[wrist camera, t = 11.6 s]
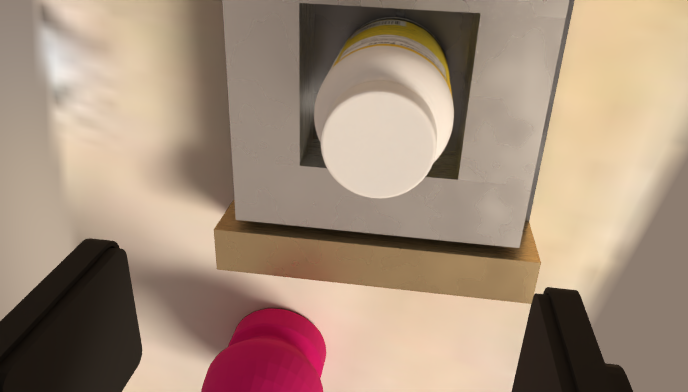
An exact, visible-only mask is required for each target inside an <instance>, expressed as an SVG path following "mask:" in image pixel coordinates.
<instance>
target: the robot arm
mask: <svg viewBox="0 0 688 392" xmlns="http://www.w3.org/2000/svg"><path fill="white" fill-rule="evenodd" d="M141 356H142V344H141V338H140V332H139V326H138V320H137V314H136V308H135V302H134V296H133V290H132V284H131V278H130V272H129V266H128V260H127V255H126V252H125V250H123V249H120V248H119V245H118V244H117V243H116V242H115V241H108V240H99V239H85V240H84V241H83V242H82V243H80V244H79V245H78V246H77V247H76V248H75V249H74V250H73V251H72V252H71V253H70V254H69V255H68V256H67V257H66V258H65V259H64V260H63V261H62V262H61V263H60V264H59V265H58V266H57V267H56V268H55V269H54V270H53V271H52V272H51V273H50V274H49V275H48V276H47V277H46V278H44V279H43V280H42V281H41V283H39V284H38V285H37V286H36V287H35V288H34V289H33V290H32V291H31V292H30V293H29V294H28V295H27V296H26V297H25V298H24V299H23V300H22V301H21V302H20V303H19V304H18V305H17V306H16V307H15V308H14V309H13V310H12V311H11V312H9V313H8V314H7V315H6V316H5V317H4V318H3V319H2V320H1V321H0V392H122V390H123V389H124V387H125V386H126V384H127V382H128V381H129V379H130V378H131V376H132V375H133V373H134V371H135V370H136V368H137V367H138V365H139V363H140V360H141ZM512 392H633V390H632V388H631V385H630V383H629V380H628V378H627V375H626V374H625V372H624V370H623V368H622V367H620V366H619V365H614V364H606V363H605V362H604V360H603V357H602V354H601V351H600V349H599V346H598V343H597V341H596V338H595V335H594V332H593V329H592V327H591V324H590V321H589V318H588V316H587V313H586V310H585V307H584V305H583V302H582V299H581V296H580V294H579V292H578V291H576V290H569V289H559V288H550V287H547V288H546V289H545V291H544V293H543V294H534V296H533V300H532V304H531V308H530V313H529V317H528V322H527V326H526V330H525V335H524V339H523V344H522V348H521V353H520V357H519V361H518V366H517V370H516V375H515V379H514V384H513V388H512Z"/></svg>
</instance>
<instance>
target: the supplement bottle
mask: <svg viewBox="0 0 688 392" xmlns="http://www.w3.org/2000/svg"><path fill="white" fill-rule="evenodd" d="M453 120H454V107H453V99H452V92H451V84H450V77H449V68H448V64H447V59H446V56H445V53H444V51H443V49H442V47H441V45H440V43H439V42H438V40H437V39H436V38H435V36H434V35H433V34H432V33H431V32H430V31H428V30H427V29H426V28H425V27H423V26H422V25H420V24H418V23H416V22H414V21H411V20H408V19H404V18H399V17H386V18H380V19H376V20H373V21H371V22H369V23H366V24H365V25H363V26H361V27H360V28H359V29H357V30H356V31H355V32H354V33H353V34H352V35H351V36H350V37H349V38H348V40H347V41H346V42H345V44H344V45H343V47H342V49H341V50H340V52H339V54H338V56H337V58H336V59H335V61H334V63H333V65H332V67H331V69H330V70H329V72H328V74H327V76H326V77H325V79H324V81H323V83H322V85H321V87H320V89H319V92H318V94H317V98H316V102H315V108H314V122H315V129H316V132H317V136H318V138H319V141H320V145H321V153H322V157H323V160H324V163H325V165H326V167H327V169H328V171H329V172H330V174H331V175H332V176H333V177H334V179H335V180H336V181H337V182H338V183H340V184H341V185H342V186H343V187H345V188H346V189H348V190H350V191H352V192H353V193H356V194H358V195H361V196H365V197H369V198H389V197H394V196H398V195H401V194H403V193H406V192H408V191H409V190H411V189H413V188H414V187H415V186H417V185H418V184H419V183H420V182H421V181H422V180H423V179H424V178H425V176H426V175H427V174H428V172H429V171H430V169H431V167H432V165H433V163H434V162H435V161H436V160H437V159H438V157H439V156H440V155H441V153H442V152H443V150H444V149H445V147H446V145H447V143H448V141H449V138H450V135H451V132H452V128H453Z"/></svg>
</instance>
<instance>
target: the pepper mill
mask: <svg viewBox="0 0 688 392" xmlns="http://www.w3.org/2000/svg"><path fill="white" fill-rule="evenodd" d="M325 358H326V346H325V342H324V339H323V337H322V335H321V333H320V332H319V330H318V329H317V328H316V327H315V326H314V325H313V324H312V323H311V322H310V321H308V320H307V319H306V318H304V317H303V316H301V315H298V314H296V313H294V312H291V311H288V310H283V309H271V308H268V309H263V310H259V311H255V312H253V313H251V314H249V315H248V316H246V317H245V318H244V319H242V321H241V322H240V323H239V324H238V326H237V328H236V330H235V332H234V334H233V336H232V339H231V341H230V343H229V346H228V347H227V348H226V349H224V350H223V351H222V352H221V353H219V354H218V355H217V356H216V358H215V359H214V360H213V362H212V363H211V364H210V367H209V369H208V371H207V374H206V377H205V380H204V383H203V386H202V391H201V392H323V387H322V384H321V380H320V377H321V374H322V370H323V366H324V362H325Z"/></svg>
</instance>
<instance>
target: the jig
mask: <svg viewBox="0 0 688 392" xmlns="http://www.w3.org/2000/svg"><path fill="white" fill-rule="evenodd" d="M222 4H223V21H224V37H225V53H226V70H227V86H228V102H229V119H230V135H231V151H232V168H233V184H234V200H233V202H232V203H231V205H230V206H229V208H228V209H227V211H226V212H225V214H224V215H223V217H222V218H221V220H220V221H219V223H218V224H217V226H216V227H215V229H214V238H215V250H216V263H217V269H219V270H228V271H237V272H246V273H255V274H265V275H274V276H283V277H292V278H301V279H310V280H319V281H328V282H337V283H347V284H356V285H365V286H374V287H383V288H392V289H401V290H410V291H419V292H428V293H438V294H447V295H456V296H465V297H474V298H483V299H492V300H501V301H510V302H519V303H529V304H532V300H533V296H534V291H535V287H536V283H537V278H538V274H539V269H540V265H541V262H540V258H539V255H538V251H537V248H536V244H535V241H534V238H533V234H532V231H531V227H530V224H529V219H530V214H531V209H532V204H533V199H534V194H535V189H536V185H537V180H538V175H539V170H540V165H541V160H542V155H543V151H544V146H545V141H546V136H547V131H548V126H549V121H550V117H551V112H552V107H553V102H554V97H555V92H556V87H557V83H558V78H559V73H560V68H561V63H562V58H563V53H564V48H565V44H566V39H567V34H568V29H569V24H570V19H571V14H572V10H573V5H574V0H222ZM386 17H399V18H404V19H408V20H411V21H414V22H416V23H418V24H420V25H422V26H423V27H425V28H426V29H427V30H428V31H430V32H431V33H432V34H433V35H434V36H435V38H436V39H437V40H438V42H439V43H440V45H441V47H442V49H443V51H444V53H445V56H446V59H447V64H448V68H449V77H450V84H451V92H452V99H453V107H454V120H453V128H452V132H451V135H450V138H449V141H448V143H447V145H446V147H445V149H444V150H443V152H442V153H441V155H440V156H439V157H438V159H437V160H436V161H435V162H434V163H433V165H432V167H431V169H430V171H429V172H428V174H427V175H426V176H425V178H424V179H423V180H422V181H421V182H420V183H419V184H418V185H417V186H415V187H414V188H413V189H411V190H409V191H408V192H406V193H403V194H401V195H398V196H394V197H389V198H369V197H365V196H361V195H358V194H356V193H353V192H352V191H350V190H348V189H346V188H345V187H343V186H342V185H341V184H340V183H338V182H337V181H336V180H335V179H334V177H333V176H332V175H331V174H330V172H329V171H328V169H327V167H326V165H325V163H324V160H323V157H322V153H321V145H320V141H319V138H318V136H317V132H316V129H315V122H314V108H315V102H316V98H317V94H318V92H319V89H320V87H321V85H322V83H323V81H324V79H325V77H326V76H327V74H328V72H329V70H330V69H331V67H332V65H333V63H334V61H335V59H336V58H337V56H338V54H339V52H340V50H341V49H342V47H343V45H344V44H345V42H346V41H347V40H348V38H349V37H350V36H351V35H352V34H353V33H354V32H355V31H356V30H357V29H359V28H360V27H361V26H363V25H365V24H366V23H369V22H371V21H373V20H376V19H380V18H386Z"/></svg>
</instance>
